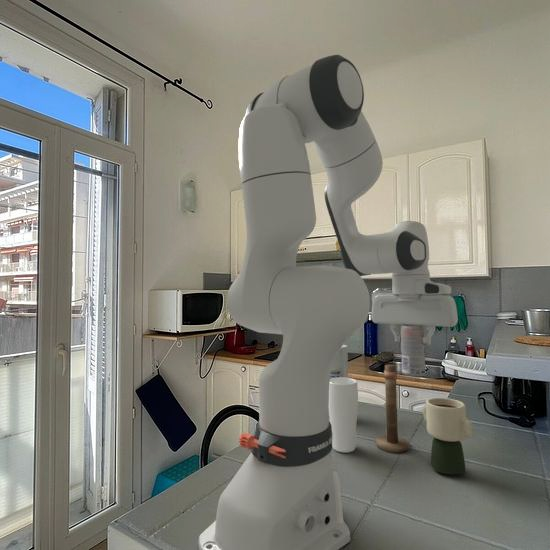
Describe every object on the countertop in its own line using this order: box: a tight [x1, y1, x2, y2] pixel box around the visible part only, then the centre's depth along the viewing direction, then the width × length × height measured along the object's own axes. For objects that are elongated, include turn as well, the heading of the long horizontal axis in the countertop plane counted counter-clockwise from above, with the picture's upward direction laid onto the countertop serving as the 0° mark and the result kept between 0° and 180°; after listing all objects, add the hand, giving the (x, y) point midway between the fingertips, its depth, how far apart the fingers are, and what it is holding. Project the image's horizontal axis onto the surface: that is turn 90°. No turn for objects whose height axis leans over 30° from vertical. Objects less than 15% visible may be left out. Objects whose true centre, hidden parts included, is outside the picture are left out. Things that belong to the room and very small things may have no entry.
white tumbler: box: [329, 377, 359, 454], centre depth 79 cm, size 7×7×15 cm
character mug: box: [422, 397, 473, 475], centre depth 69 cm, size 11×7×13 cm, turn 24°
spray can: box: [329, 344, 349, 421], centre depth 98 cm, size 6×6×20 cm
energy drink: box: [400, 324, 426, 377], centre depth 86 cm, size 5×5×12 cm
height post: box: [375, 364, 410, 454], centre depth 80 cm, size 7×7×18 cm
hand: (412, 343), depth 86 cm, fingers closed on energy drink, 5 cm apart
